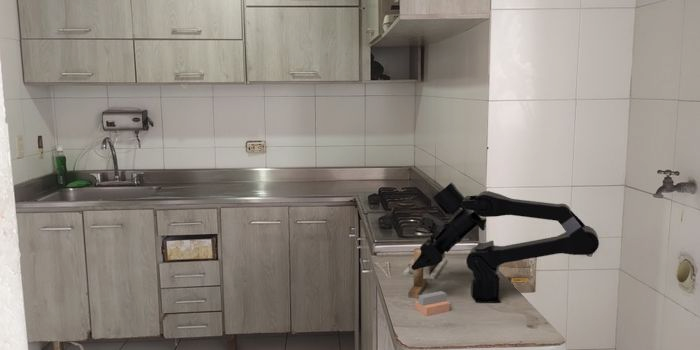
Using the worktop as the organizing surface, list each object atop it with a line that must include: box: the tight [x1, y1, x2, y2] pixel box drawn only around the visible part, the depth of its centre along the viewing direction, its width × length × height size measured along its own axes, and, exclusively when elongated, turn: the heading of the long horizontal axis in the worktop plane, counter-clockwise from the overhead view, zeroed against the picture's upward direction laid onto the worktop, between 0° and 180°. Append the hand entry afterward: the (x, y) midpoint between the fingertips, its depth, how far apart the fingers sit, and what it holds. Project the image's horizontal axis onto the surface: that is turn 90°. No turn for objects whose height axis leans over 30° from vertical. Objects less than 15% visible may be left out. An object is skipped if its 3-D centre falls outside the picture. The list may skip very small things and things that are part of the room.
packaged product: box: [401, 257, 448, 280], centre depth 175 cm, size 18×5×10 cm
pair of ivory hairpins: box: [374, 261, 392, 279], centre depth 172 cm, size 17×5×2 cm, turn 6°
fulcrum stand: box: [414, 290, 451, 317], centre depth 142 cm, size 7×5×4 cm
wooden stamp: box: [407, 247, 429, 300], centre depth 155 cm, size 3×12×12 cm, turn 160°
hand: (416, 263), depth 155 cm, fingers open, 9 cm apart
